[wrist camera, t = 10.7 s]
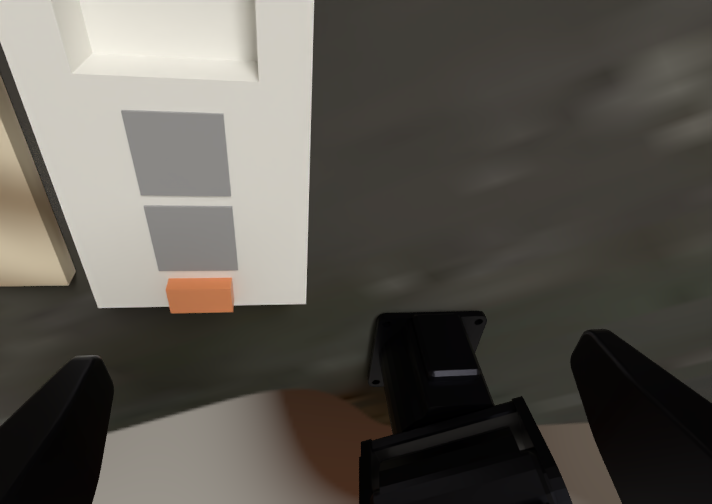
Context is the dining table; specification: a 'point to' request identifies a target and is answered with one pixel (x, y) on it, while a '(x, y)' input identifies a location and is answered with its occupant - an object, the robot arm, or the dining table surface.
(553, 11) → the dining table surface
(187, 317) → the dining table surface
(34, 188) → the birch pad
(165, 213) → the switch housing
